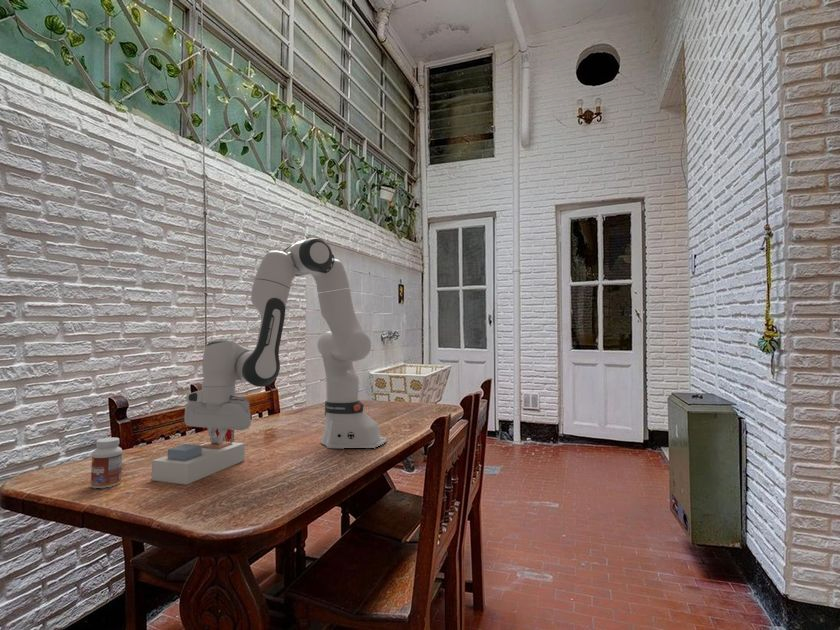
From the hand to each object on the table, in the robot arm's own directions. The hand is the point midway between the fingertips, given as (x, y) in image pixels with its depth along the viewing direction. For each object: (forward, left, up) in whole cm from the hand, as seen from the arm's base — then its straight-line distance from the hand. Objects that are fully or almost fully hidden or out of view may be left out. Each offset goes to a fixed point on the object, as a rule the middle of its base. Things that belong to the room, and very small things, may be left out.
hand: (216, 443), depth 128 cm
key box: (0, +6, -6) cm, 8 cm away
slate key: (0, +12, -2) cm, 12 cm away
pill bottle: (+13, +23, -6) cm, 27 cm away
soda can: (+9, -13, -6) cm, 17 cm away
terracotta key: (0, 0, -4) cm, 4 cm away
